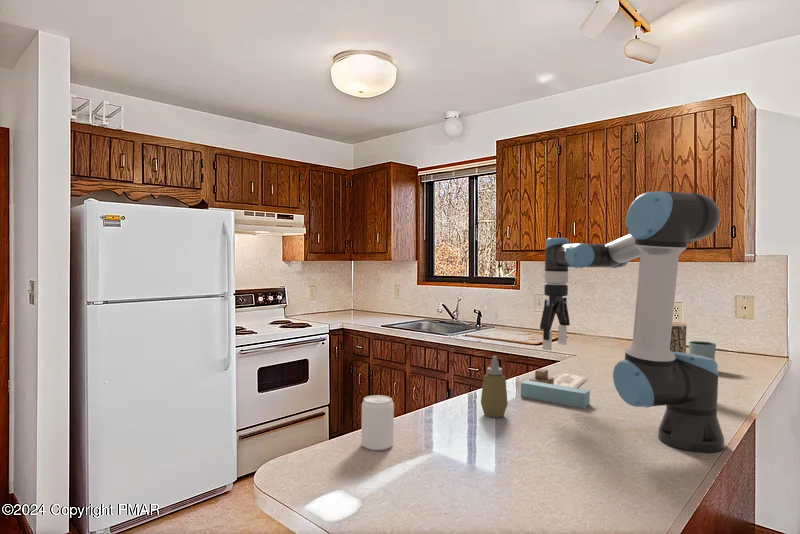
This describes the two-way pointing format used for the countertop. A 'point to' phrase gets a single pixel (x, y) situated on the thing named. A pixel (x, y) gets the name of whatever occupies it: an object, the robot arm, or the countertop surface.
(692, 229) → the robot arm
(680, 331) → the bark covered log
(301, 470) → the countertop surface
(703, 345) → the grey green cup
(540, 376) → the fulcrum
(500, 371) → the squeeze bottle
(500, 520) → the countertop surface
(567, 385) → the newspaper
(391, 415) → the beverage can
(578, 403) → the bar
